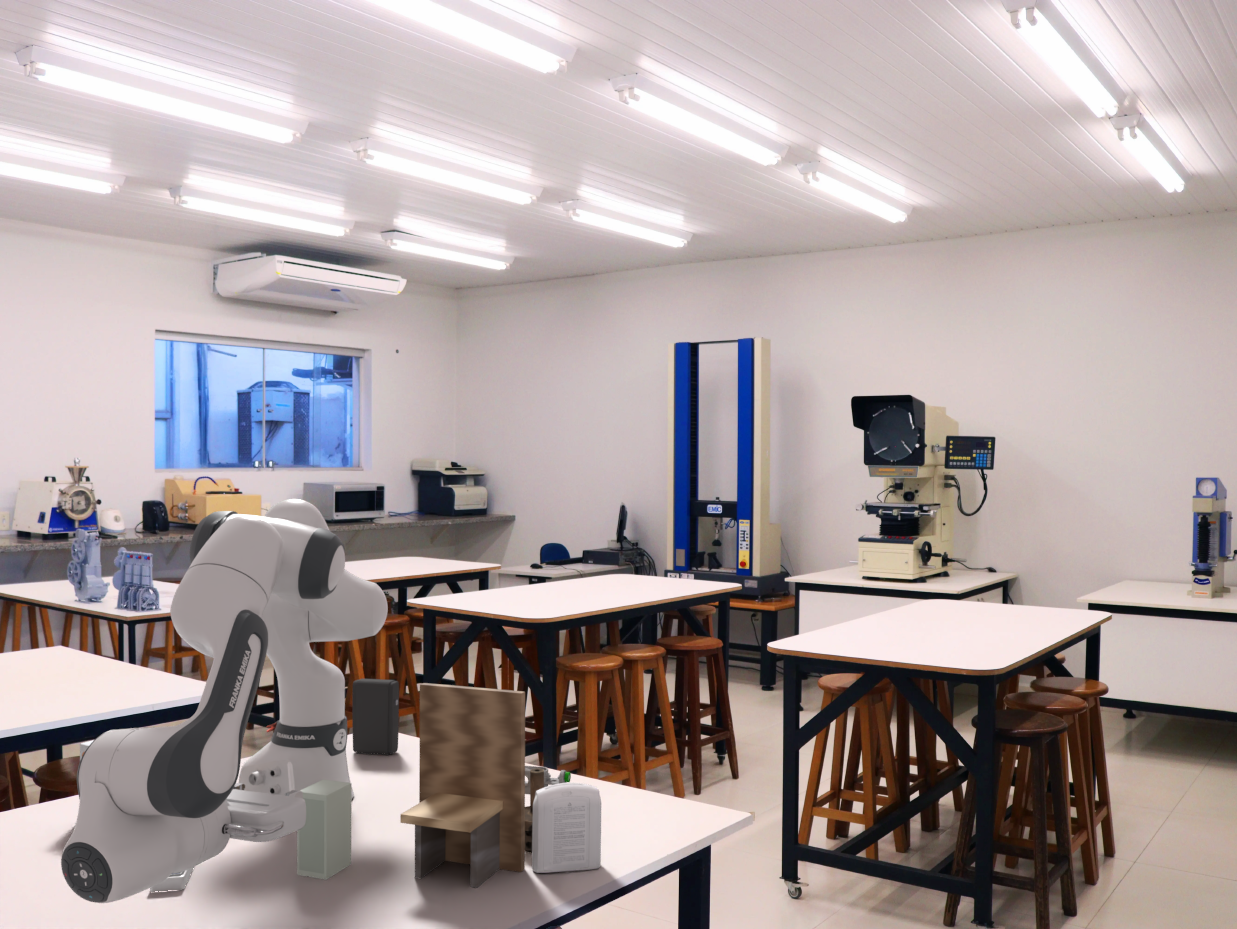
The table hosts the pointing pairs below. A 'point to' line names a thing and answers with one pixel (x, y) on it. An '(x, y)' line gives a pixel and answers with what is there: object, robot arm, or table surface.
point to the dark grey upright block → (375, 716)
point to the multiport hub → (173, 881)
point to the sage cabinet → (325, 830)
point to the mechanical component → (546, 777)
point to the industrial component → (535, 785)
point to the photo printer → (566, 828)
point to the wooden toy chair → (470, 780)
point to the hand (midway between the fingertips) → (269, 792)
